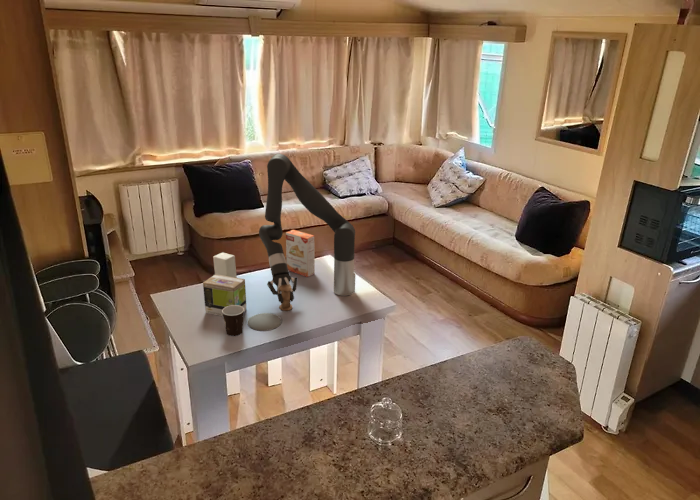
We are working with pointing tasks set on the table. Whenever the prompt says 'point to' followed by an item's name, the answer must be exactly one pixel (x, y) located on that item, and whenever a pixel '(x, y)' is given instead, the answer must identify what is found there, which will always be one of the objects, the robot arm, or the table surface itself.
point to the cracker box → (300, 252)
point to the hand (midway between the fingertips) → (287, 301)
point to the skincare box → (225, 265)
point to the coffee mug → (233, 319)
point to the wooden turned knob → (285, 297)
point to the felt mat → (264, 321)
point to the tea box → (223, 293)
